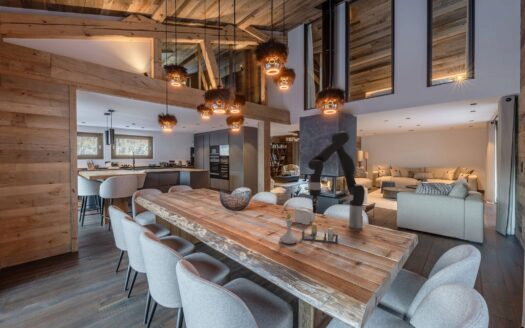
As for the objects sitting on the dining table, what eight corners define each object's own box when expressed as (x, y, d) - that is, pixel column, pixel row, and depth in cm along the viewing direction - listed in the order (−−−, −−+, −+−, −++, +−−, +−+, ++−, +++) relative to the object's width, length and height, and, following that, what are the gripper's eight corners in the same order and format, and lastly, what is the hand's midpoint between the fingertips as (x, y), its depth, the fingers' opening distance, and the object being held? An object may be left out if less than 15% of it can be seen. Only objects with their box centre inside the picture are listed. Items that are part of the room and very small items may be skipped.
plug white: (333, 238, 148) (333, 228, 147) (333, 240, 144) (334, 229, 144) (327, 238, 149) (328, 227, 148) (327, 240, 145) (328, 229, 145)
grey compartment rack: (337, 240, 148) (337, 231, 148) (337, 243, 143) (337, 234, 142) (302, 236, 154) (303, 228, 154) (302, 239, 148) (302, 231, 148)
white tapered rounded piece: (285, 237, 152) (285, 200, 151) (300, 241, 146) (301, 202, 145) (274, 243, 142) (275, 203, 141) (291, 248, 135) (291, 206, 134)
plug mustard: (316, 233, 161) (317, 223, 161) (316, 234, 158) (316, 224, 158) (311, 232, 162) (311, 223, 162) (311, 234, 159) (311, 224, 158)
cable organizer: (315, 223, 185) (316, 209, 184) (308, 226, 177) (308, 211, 177) (300, 219, 196) (300, 206, 195) (293, 222, 188) (293, 208, 188)
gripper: (320, 190, 151) (320, 214, 151) (320, 187, 164) (320, 209, 165) (309, 189, 153) (308, 213, 153) (310, 186, 166) (309, 209, 167)
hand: (314, 211), depth 159 cm, fingers open, 8 cm apart
